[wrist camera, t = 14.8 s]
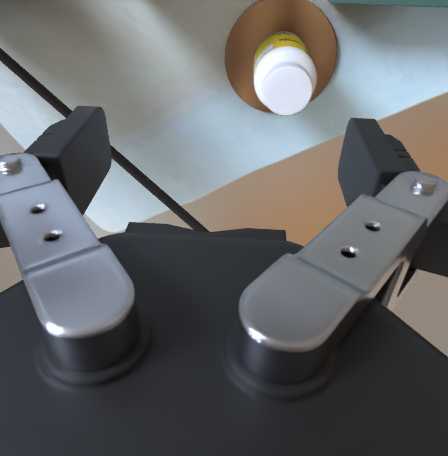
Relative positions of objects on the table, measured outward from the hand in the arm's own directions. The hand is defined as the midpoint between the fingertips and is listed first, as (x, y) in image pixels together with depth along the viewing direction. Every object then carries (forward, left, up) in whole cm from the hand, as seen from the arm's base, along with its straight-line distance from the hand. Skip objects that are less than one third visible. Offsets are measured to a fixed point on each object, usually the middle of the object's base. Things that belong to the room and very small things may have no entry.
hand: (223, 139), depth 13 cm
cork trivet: (+4, -5, -30) cm, 31 cm away
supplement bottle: (+4, -5, -30) cm, 30 cm away
